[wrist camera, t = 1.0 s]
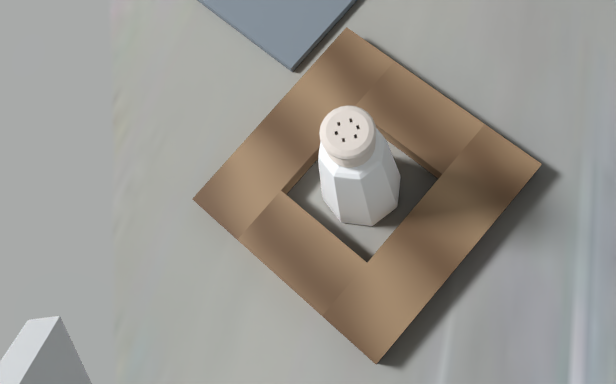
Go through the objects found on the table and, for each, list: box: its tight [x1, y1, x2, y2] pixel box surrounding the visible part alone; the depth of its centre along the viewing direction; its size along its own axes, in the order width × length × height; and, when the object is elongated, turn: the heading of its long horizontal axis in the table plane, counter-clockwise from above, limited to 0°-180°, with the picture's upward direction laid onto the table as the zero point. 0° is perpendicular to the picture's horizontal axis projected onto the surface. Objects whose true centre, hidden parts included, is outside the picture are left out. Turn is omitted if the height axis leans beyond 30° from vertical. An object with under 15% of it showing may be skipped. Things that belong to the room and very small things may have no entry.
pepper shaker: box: [318, 106, 401, 226], centre depth 33 cm, size 5×5×11 cm
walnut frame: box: [193, 27, 542, 364], centre depth 38 cm, size 16×16×2 cm
